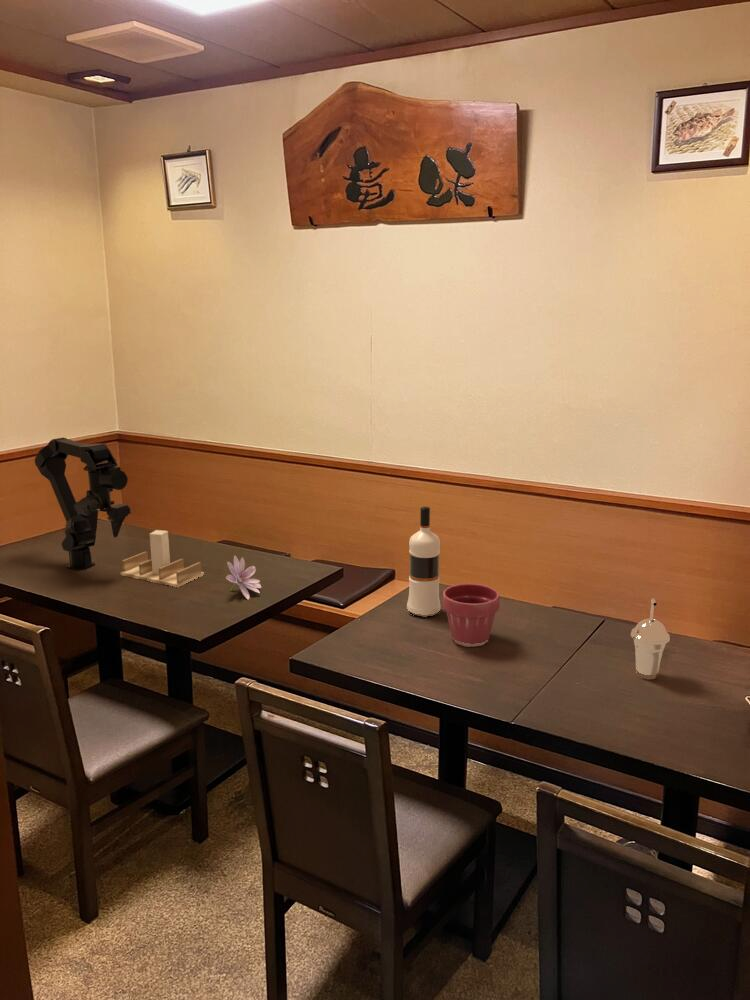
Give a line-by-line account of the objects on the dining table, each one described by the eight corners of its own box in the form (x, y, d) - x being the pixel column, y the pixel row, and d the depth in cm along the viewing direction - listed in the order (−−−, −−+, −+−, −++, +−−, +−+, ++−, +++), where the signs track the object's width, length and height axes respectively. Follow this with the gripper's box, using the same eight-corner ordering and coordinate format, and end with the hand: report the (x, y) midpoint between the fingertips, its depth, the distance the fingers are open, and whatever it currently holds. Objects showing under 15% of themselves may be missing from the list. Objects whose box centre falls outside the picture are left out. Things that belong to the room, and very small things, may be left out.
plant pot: (432, 633, 208) (433, 586, 204) (481, 625, 212) (482, 579, 209) (457, 656, 195) (458, 607, 191) (508, 647, 199) (510, 599, 196)
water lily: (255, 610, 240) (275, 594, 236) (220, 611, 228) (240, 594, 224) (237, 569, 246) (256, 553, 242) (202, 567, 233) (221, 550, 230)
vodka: (412, 620, 216) (413, 512, 208) (402, 607, 224) (403, 503, 217) (445, 616, 218) (447, 510, 210) (434, 604, 227) (436, 501, 219)
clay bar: (152, 573, 248) (149, 533, 244) (159, 569, 252) (156, 530, 248) (164, 575, 247) (161, 534, 243) (170, 570, 251) (167, 530, 247)
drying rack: (120, 575, 250) (119, 561, 249) (148, 563, 260) (147, 550, 259) (177, 587, 239) (176, 573, 238) (203, 575, 249) (203, 561, 248)
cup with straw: (672, 674, 185) (680, 593, 180) (655, 689, 179) (663, 605, 173) (636, 663, 191) (643, 584, 185) (619, 677, 184) (626, 595, 179)
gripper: (56, 488, 240) (62, 538, 244) (100, 494, 231) (106, 546, 235) (86, 480, 250) (91, 529, 253) (129, 486, 241) (134, 536, 244)
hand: (104, 535), depth 246 cm, fingers open, 9 cm apart
